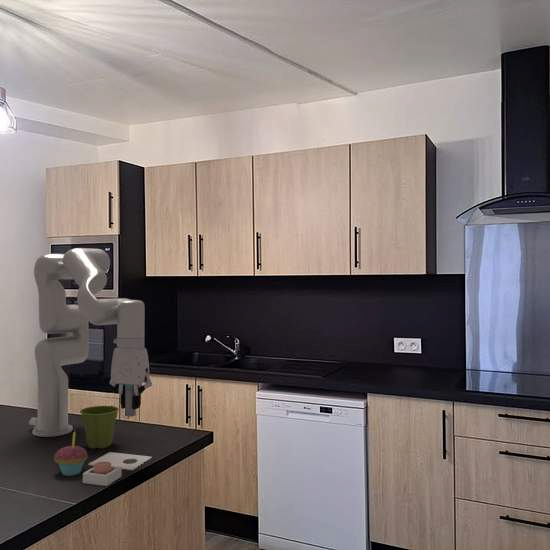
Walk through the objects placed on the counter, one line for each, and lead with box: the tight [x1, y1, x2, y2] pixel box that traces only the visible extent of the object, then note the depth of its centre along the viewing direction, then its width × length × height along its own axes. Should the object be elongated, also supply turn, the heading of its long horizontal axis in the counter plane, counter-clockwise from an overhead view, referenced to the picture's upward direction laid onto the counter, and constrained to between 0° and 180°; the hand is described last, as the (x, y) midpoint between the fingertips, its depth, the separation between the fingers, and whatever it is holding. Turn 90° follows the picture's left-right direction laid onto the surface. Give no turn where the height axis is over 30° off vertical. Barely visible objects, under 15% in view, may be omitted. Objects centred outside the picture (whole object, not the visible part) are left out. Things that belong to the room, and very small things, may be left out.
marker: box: [124, 385, 137, 417], centre depth 163 cm, size 3×3×11 cm
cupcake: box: [53, 429, 88, 477], centre depth 155 cm, size 9×8×12 cm
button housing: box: [82, 466, 122, 487], centre depth 150 cm, size 7×7×2 cm
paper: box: [87, 451, 153, 471], centre depth 165 cm, size 14×11×1 cm
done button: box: [93, 462, 111, 475], centre depth 150 cm, size 4×4×2 cm
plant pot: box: [79, 405, 120, 449], centre depth 179 cm, size 12×12×11 cm
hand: (130, 407), depth 163 cm, fingers closed on marker, 3 cm apart
